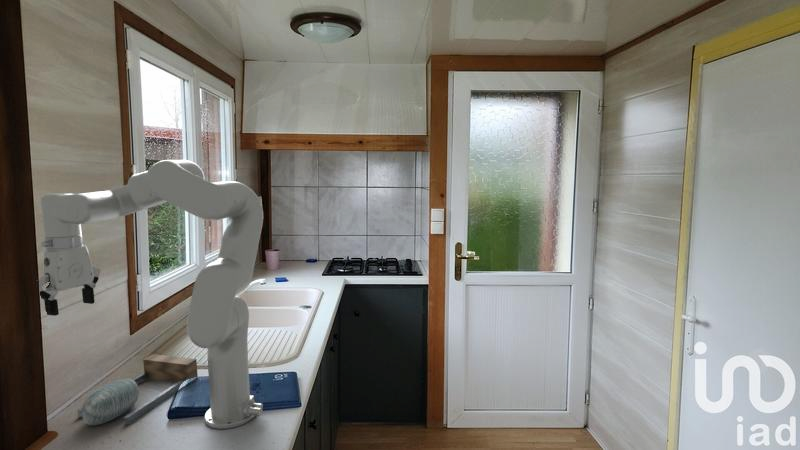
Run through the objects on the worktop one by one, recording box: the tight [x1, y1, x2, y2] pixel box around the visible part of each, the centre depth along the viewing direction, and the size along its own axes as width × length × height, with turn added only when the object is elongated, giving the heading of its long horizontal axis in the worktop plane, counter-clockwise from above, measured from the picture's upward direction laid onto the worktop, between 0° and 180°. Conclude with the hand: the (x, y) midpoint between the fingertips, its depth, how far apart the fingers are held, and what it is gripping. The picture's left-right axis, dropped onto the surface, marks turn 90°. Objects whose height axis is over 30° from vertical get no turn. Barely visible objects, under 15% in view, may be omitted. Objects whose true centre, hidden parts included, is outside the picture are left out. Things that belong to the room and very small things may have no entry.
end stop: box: [142, 353, 199, 383], centre depth 138 cm, size 15×4×6 cm, turn 76°
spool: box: [81, 378, 139, 426], centre depth 118 cm, size 14×10×10 cm
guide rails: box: [76, 371, 188, 426], centre depth 126 cm, size 15×22×2 cm
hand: (71, 308), depth 117 cm, fingers open, 9 cm apart
